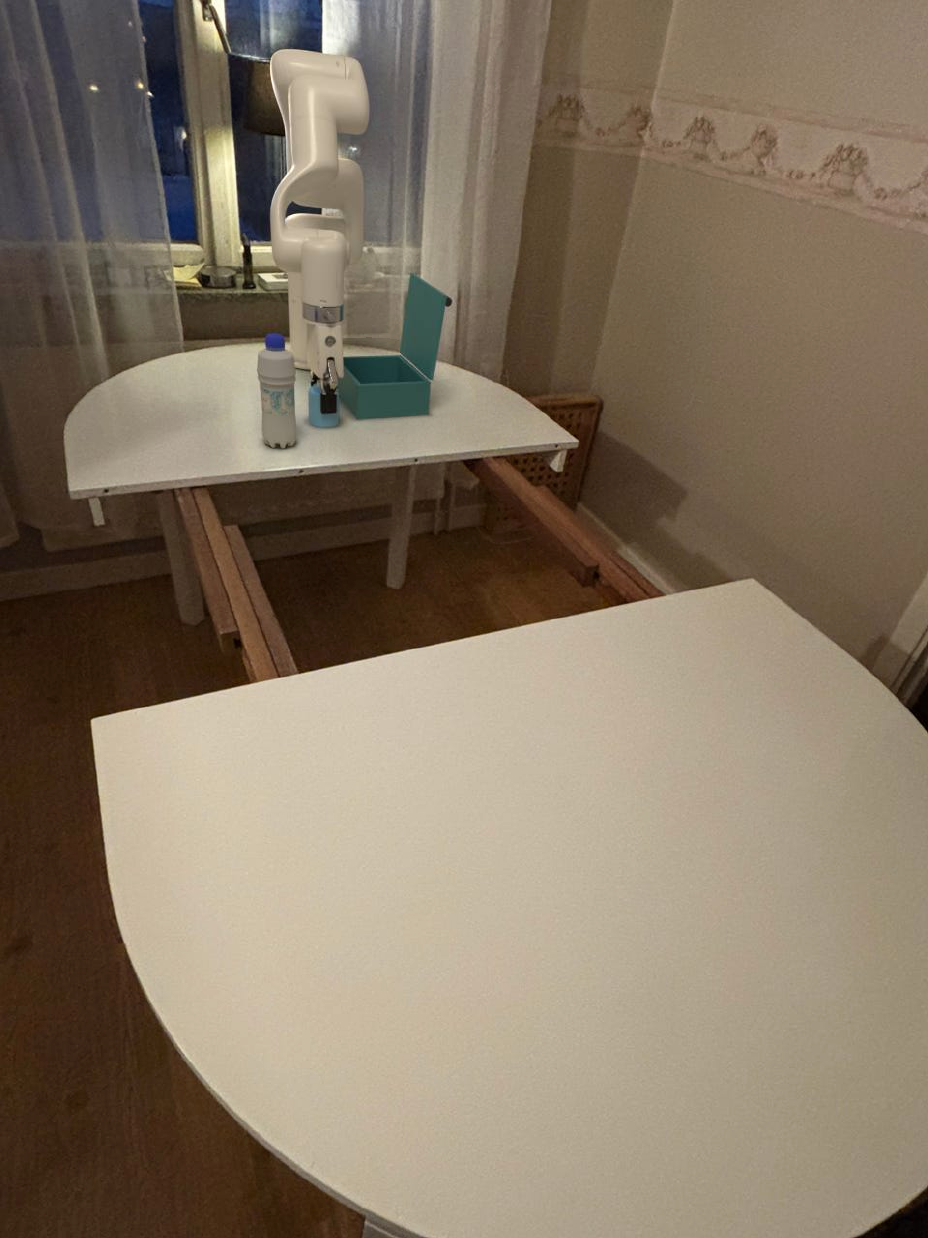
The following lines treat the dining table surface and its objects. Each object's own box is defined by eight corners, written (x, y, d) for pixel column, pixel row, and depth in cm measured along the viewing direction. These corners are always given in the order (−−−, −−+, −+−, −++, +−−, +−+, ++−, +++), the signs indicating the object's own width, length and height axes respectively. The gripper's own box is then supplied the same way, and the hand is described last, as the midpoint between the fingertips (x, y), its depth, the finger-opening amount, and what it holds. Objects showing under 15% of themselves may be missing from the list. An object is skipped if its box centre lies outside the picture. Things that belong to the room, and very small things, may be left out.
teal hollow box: (357, 419, 152) (357, 385, 148) (332, 388, 165) (332, 356, 161) (428, 414, 158) (431, 382, 154) (399, 385, 171) (401, 354, 167)
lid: (443, 295, 144) (466, 297, 147) (410, 272, 157) (432, 275, 159) (429, 380, 154) (451, 381, 156) (399, 352, 166) (420, 353, 169)
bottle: (257, 437, 140) (250, 328, 128) (292, 435, 142) (289, 327, 130) (266, 452, 135) (259, 340, 123) (302, 449, 138) (299, 339, 126)
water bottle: (305, 416, 150) (304, 376, 145) (334, 415, 152) (334, 375, 148) (313, 428, 146) (312, 387, 141) (342, 426, 148) (343, 385, 143)
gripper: (356, 325, 132) (355, 422, 143) (329, 300, 144) (329, 390, 155) (315, 326, 129) (316, 424, 140) (291, 299, 141) (294, 392, 152)
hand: (323, 405), depth 147 cm, fingers closed on water bottle, 6 cm apart
